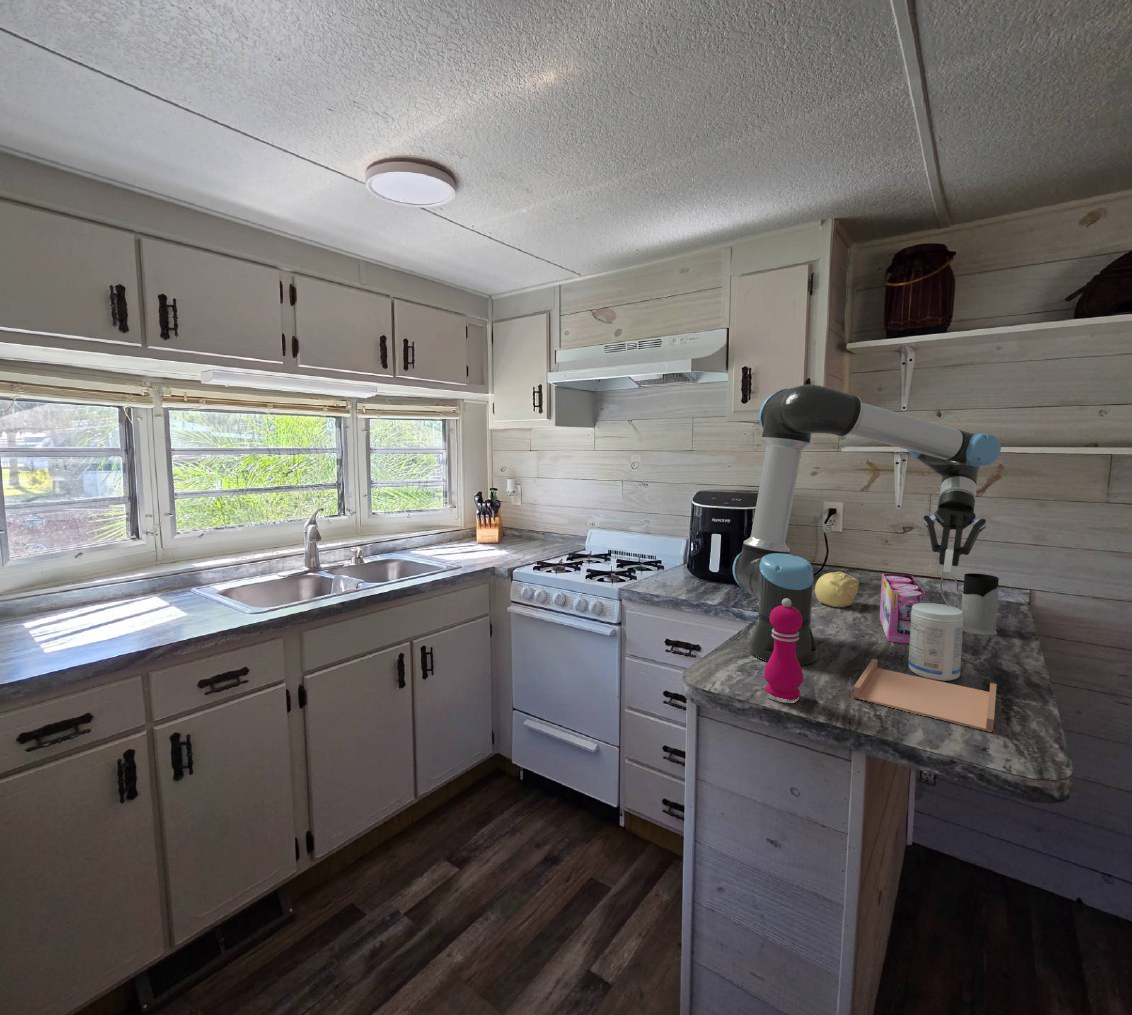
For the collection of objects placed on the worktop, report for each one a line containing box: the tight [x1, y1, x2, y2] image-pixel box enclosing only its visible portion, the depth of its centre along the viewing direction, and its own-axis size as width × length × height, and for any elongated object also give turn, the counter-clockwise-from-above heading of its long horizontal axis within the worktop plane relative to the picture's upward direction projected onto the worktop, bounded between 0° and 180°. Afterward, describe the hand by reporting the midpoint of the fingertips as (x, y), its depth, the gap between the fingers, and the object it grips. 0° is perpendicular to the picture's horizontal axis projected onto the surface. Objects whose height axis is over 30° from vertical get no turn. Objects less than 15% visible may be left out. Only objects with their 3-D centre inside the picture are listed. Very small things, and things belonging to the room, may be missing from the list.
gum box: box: [879, 572, 926, 645], centre depth 151 cm, size 24×8×14 cm, turn 156°
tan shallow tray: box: [852, 658, 998, 732], centre depth 111 cm, size 19×22×2 cm
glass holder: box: [939, 572, 1000, 636], centre depth 155 cm, size 9×14×15 cm, turn 33°
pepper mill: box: [763, 598, 804, 700], centre depth 110 cm, size 7×7×20 cm
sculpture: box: [814, 571, 860, 608], centre depth 178 cm, size 11×12×11 cm
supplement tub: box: [908, 602, 964, 682], centre depth 123 cm, size 10×10×15 cm
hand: (946, 575), depth 131 cm, fingers closed
